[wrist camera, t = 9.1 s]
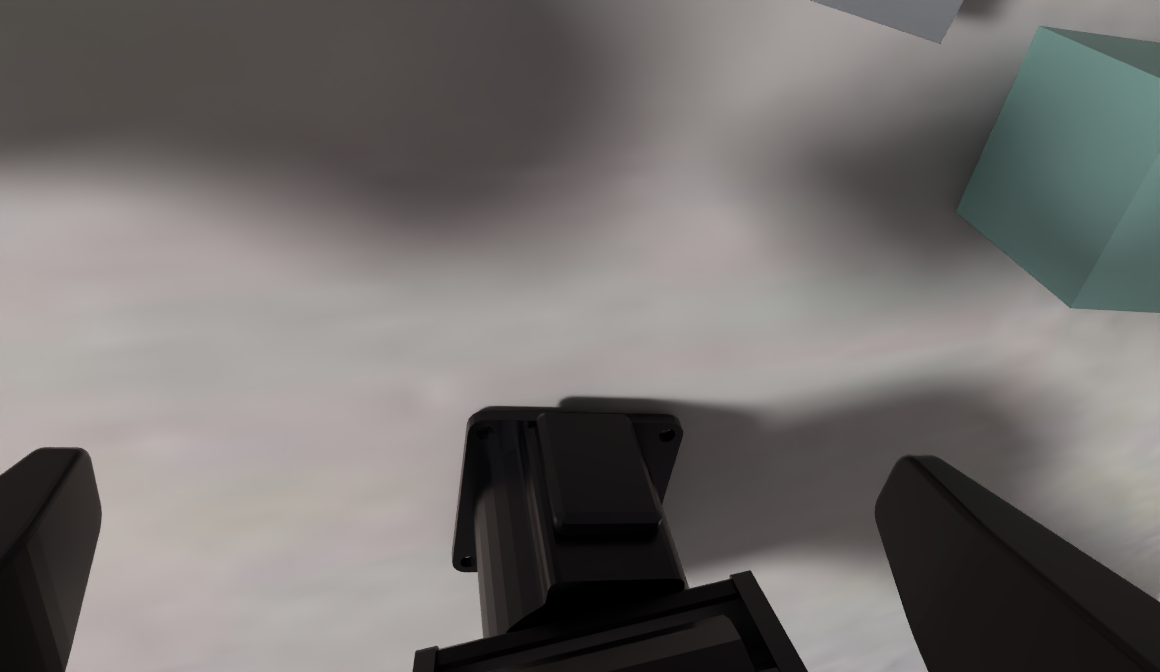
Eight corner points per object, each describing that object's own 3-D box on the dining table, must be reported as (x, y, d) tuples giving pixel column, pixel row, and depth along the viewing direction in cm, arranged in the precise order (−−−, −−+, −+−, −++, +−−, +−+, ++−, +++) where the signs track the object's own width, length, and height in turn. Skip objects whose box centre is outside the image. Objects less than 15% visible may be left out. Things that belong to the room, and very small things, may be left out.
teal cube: (1104, 222, 24) (1243, 317, 20) (954, 210, 23) (1070, 308, 19) (1201, 48, 21) (1386, 117, 17) (1037, 24, 20) (1193, 92, 16)
